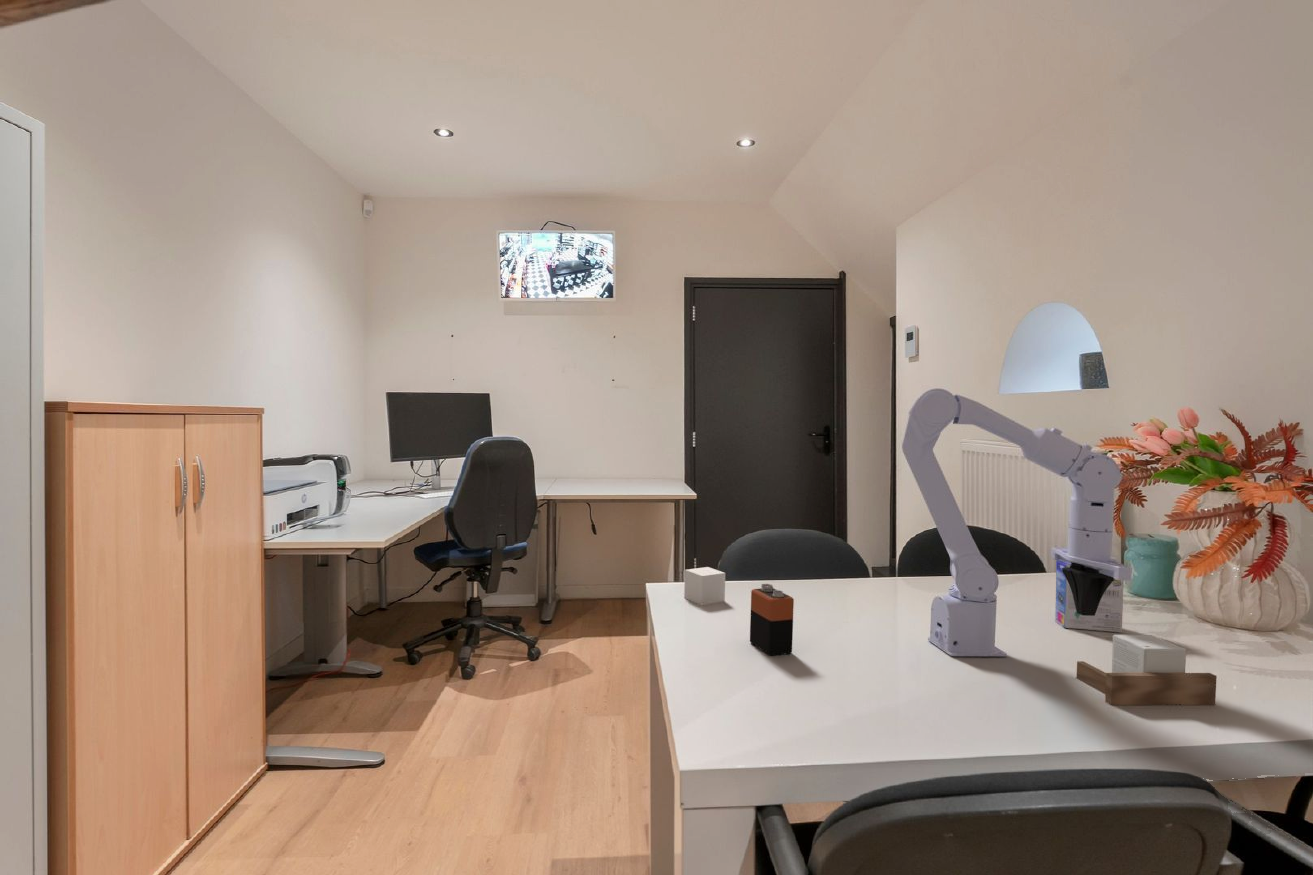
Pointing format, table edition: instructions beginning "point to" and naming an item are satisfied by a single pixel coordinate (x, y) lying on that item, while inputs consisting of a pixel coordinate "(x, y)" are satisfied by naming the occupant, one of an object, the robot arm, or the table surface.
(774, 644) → the battery
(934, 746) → the table surface
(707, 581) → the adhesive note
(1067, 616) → the ink cartridge box
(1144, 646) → the product box
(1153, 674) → the walnut holder
